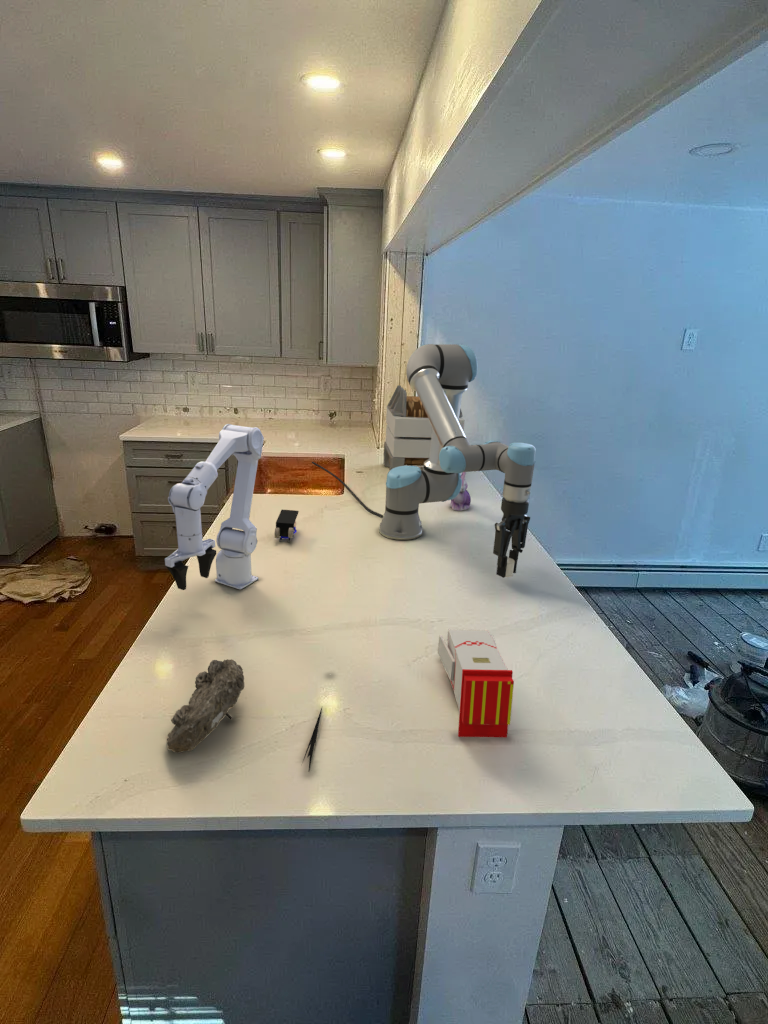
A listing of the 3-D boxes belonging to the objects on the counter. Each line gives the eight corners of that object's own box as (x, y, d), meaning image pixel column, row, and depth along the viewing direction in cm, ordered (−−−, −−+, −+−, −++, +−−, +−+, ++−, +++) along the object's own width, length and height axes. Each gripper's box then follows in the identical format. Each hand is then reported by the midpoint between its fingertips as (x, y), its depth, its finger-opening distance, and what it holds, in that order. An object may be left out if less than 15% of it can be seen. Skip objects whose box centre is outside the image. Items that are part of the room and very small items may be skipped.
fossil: (192, 660, 117) (244, 628, 112) (224, 691, 120) (276, 661, 115) (142, 746, 98) (202, 712, 93) (182, 779, 101) (242, 748, 96)
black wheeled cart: (294, 548, 187) (299, 527, 200) (293, 528, 183) (299, 508, 197) (273, 548, 187) (280, 526, 200) (272, 527, 183) (279, 507, 197)
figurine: (457, 512, 223) (460, 476, 218) (443, 504, 231) (446, 469, 226) (477, 509, 227) (480, 473, 222) (462, 502, 236) (465, 467, 230)
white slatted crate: (382, 463, 289) (386, 382, 275) (445, 464, 293) (451, 384, 279) (390, 482, 257) (394, 392, 243) (460, 483, 261) (468, 394, 247)
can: (512, 578, 165) (514, 564, 164) (498, 576, 166) (499, 562, 164) (512, 571, 169) (514, 558, 167) (498, 570, 170) (499, 556, 168)
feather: (331, 679, 122) (336, 673, 122) (307, 777, 96) (313, 769, 95) (324, 675, 122) (329, 669, 121) (298, 772, 95) (304, 764, 95)
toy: (488, 613, 130) (523, 677, 101) (484, 667, 133) (517, 744, 104) (435, 612, 130) (455, 676, 101) (432, 666, 133) (451, 743, 103)
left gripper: (178, 545, 129) (183, 598, 134) (223, 526, 141) (226, 575, 146) (156, 539, 132) (161, 591, 137) (202, 520, 144) (205, 569, 149)
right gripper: (506, 508, 151) (497, 586, 159) (545, 496, 162) (534, 570, 170) (485, 500, 157) (476, 576, 164) (523, 490, 167) (514, 562, 175)
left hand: (193, 582), depth 141 cm, fingers open, 7 cm apart
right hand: (506, 573), depth 167 cm, fingers closed on can, 4 cm apart
